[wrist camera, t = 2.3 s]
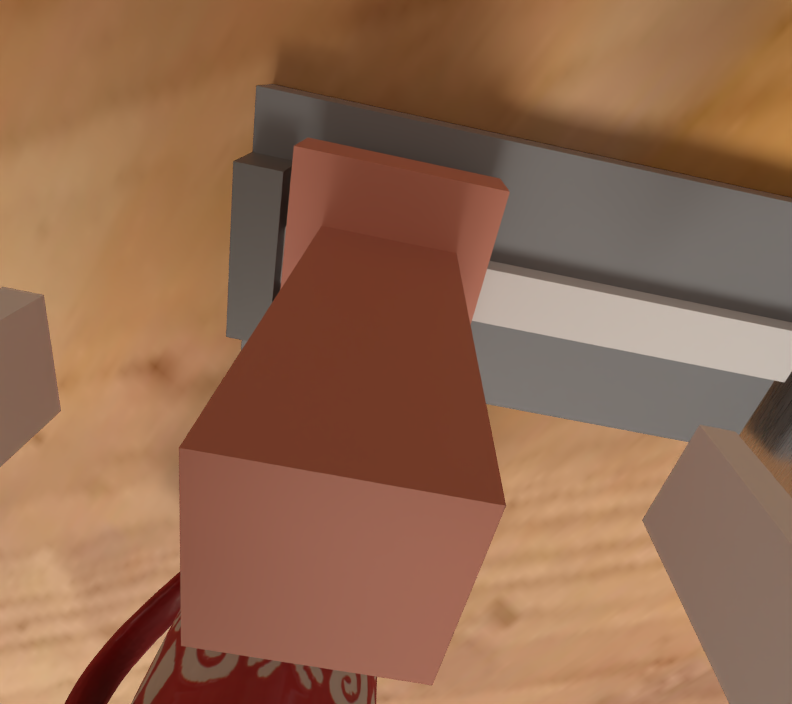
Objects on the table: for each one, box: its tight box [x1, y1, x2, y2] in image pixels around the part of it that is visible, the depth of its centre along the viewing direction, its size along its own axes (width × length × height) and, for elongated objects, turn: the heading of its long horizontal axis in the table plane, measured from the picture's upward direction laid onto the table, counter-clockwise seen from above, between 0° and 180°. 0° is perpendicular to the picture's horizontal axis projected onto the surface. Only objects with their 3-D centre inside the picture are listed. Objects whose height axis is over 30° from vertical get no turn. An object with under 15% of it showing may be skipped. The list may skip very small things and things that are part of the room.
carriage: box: [179, 138, 510, 685], centre depth 12 cm, size 6×8×12 cm
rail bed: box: [226, 84, 792, 442], centre depth 19 cm, size 21×10×4 cm, turn 79°
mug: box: [65, 572, 377, 704], centre depth 22 cm, size 13×9×14 cm
